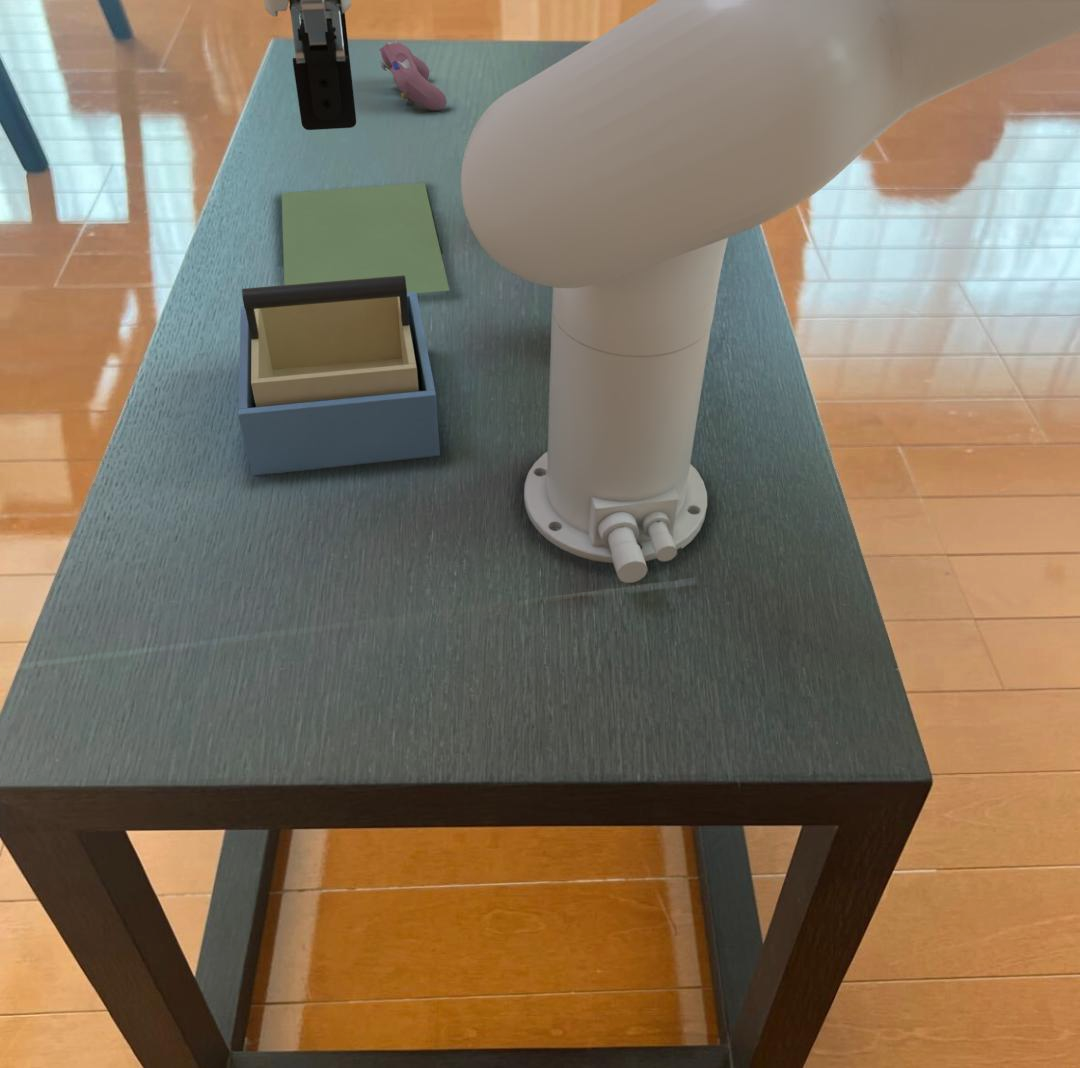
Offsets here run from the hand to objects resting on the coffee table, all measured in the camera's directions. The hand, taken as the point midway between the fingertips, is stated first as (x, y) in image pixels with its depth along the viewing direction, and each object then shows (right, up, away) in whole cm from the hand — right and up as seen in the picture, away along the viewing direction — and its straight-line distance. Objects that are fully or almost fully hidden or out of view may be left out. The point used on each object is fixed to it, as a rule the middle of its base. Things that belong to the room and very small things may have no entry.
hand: (327, 93), depth 67 cm
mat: (-3, -1, +32) cm, 32 cm away
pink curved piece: (-1, +22, +55) cm, 59 cm away
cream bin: (-2, -18, +13) cm, 23 cm away
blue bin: (-2, -19, +14) cm, 23 cm away
